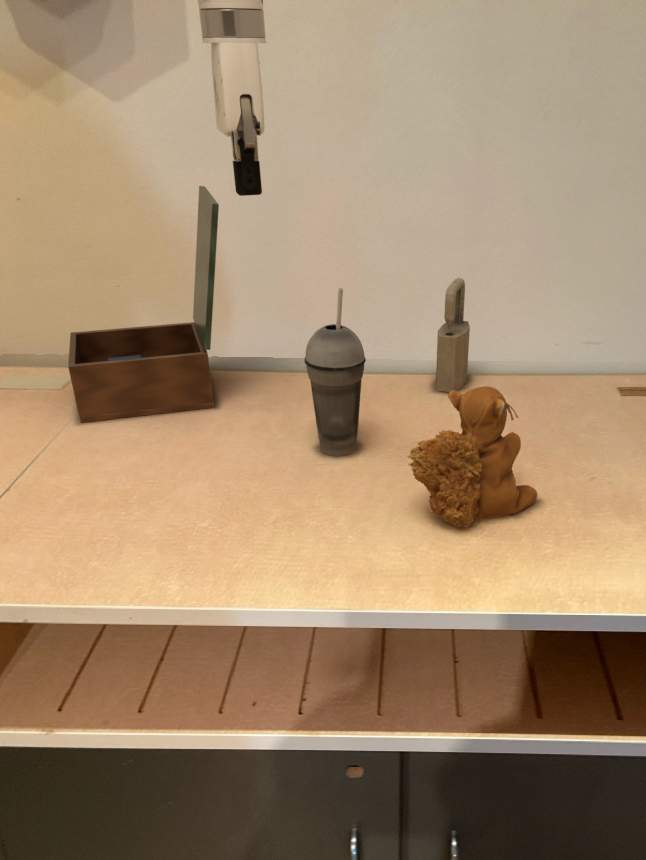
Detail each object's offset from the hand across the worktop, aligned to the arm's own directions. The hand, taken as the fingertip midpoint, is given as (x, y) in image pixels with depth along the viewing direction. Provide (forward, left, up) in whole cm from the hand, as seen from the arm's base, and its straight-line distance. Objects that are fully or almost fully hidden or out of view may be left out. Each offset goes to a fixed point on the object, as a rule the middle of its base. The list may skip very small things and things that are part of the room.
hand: (249, 193), depth 104 cm
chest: (-17, 0, -26) cm, 31 cm away
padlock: (+27, -8, -26) cm, 38 cm away
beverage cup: (+5, -25, -26) cm, 37 cm away
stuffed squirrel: (+15, -44, -26) cm, 53 cm away
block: (-19, 0, -25) cm, 32 cm away
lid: (-7, 0, -9) cm, 11 cm away
